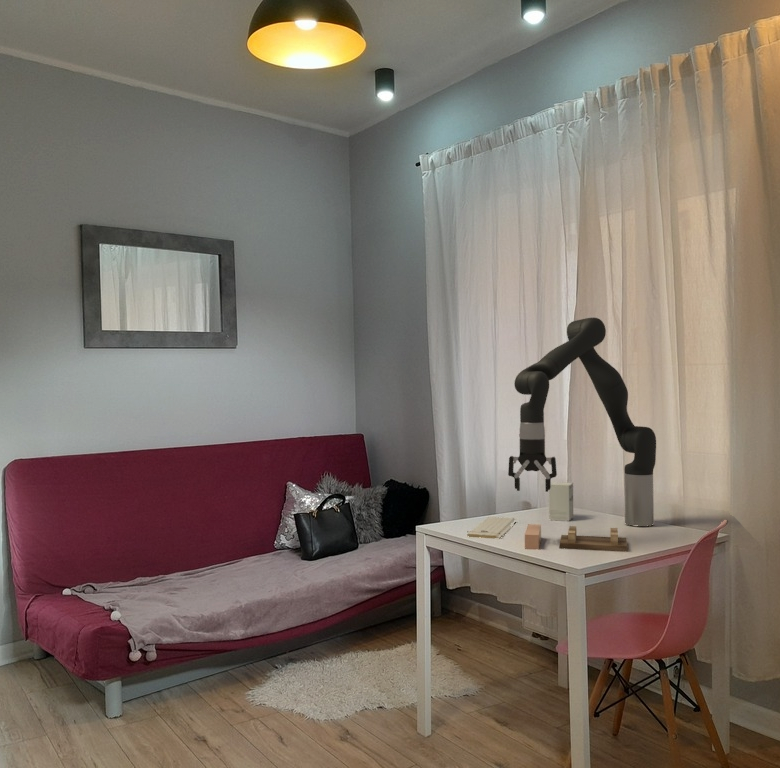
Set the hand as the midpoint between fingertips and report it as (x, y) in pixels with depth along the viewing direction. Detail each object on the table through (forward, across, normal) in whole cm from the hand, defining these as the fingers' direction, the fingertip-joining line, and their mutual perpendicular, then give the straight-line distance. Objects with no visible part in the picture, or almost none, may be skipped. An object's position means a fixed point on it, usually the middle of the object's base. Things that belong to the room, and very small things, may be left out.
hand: (532, 490), depth 226 cm
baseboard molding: (+17, +14, -20) cm, 30 cm away
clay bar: (+16, 0, 0) cm, 16 cm away
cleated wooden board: (+16, -18, -1) cm, 24 cm away
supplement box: (+16, -6, -42) cm, 45 cm away
